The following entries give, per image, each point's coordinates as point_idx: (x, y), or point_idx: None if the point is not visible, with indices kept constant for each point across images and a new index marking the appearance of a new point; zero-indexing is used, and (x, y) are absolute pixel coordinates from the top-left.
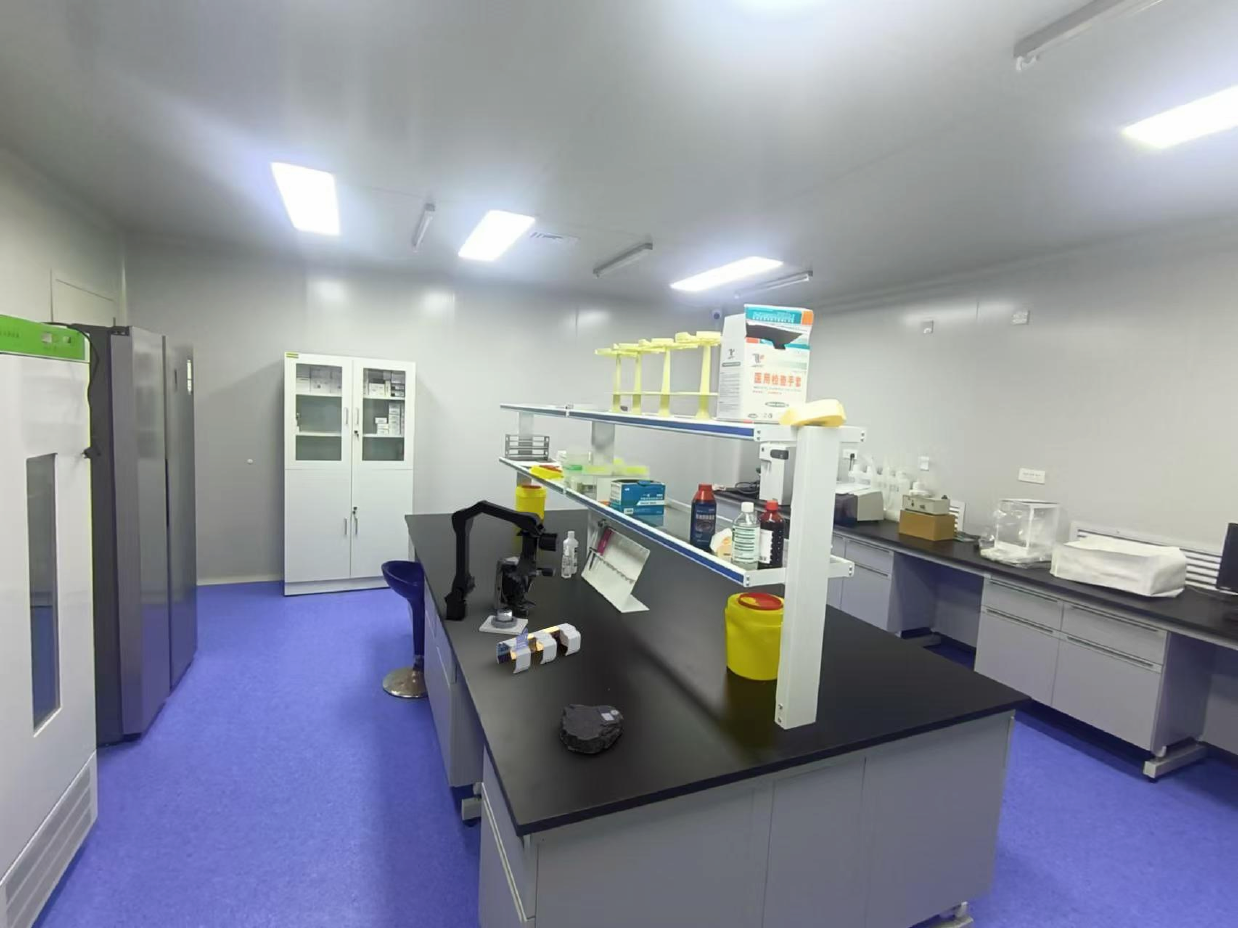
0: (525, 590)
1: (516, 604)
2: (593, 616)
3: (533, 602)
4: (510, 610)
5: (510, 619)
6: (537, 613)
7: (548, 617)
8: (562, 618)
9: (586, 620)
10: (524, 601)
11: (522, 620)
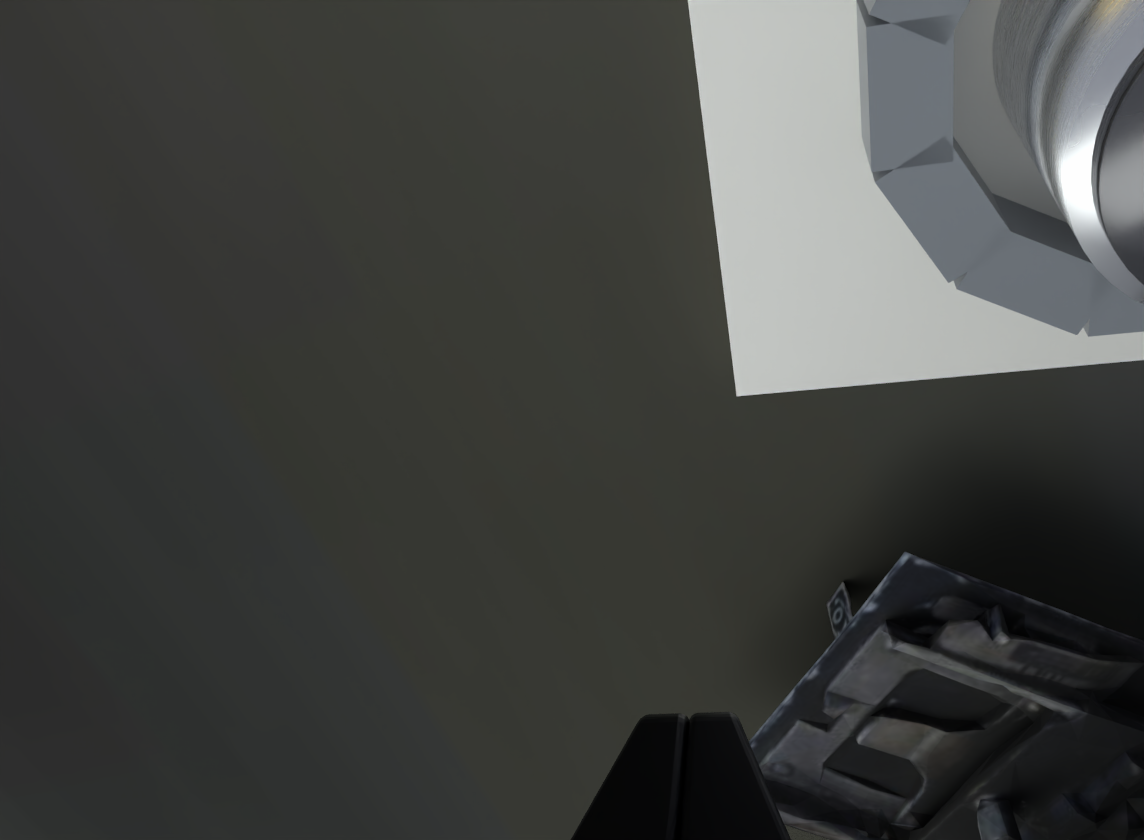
0: (734, 769)
1: (1078, 699)
2: (33, 769)
3: (788, 821)
4: (1118, 177)
5: (1030, 38)
6: (715, 686)
7: (506, 614)
8: (315, 635)
9: (20, 659)
10: (954, 817)
11: (816, 324)
